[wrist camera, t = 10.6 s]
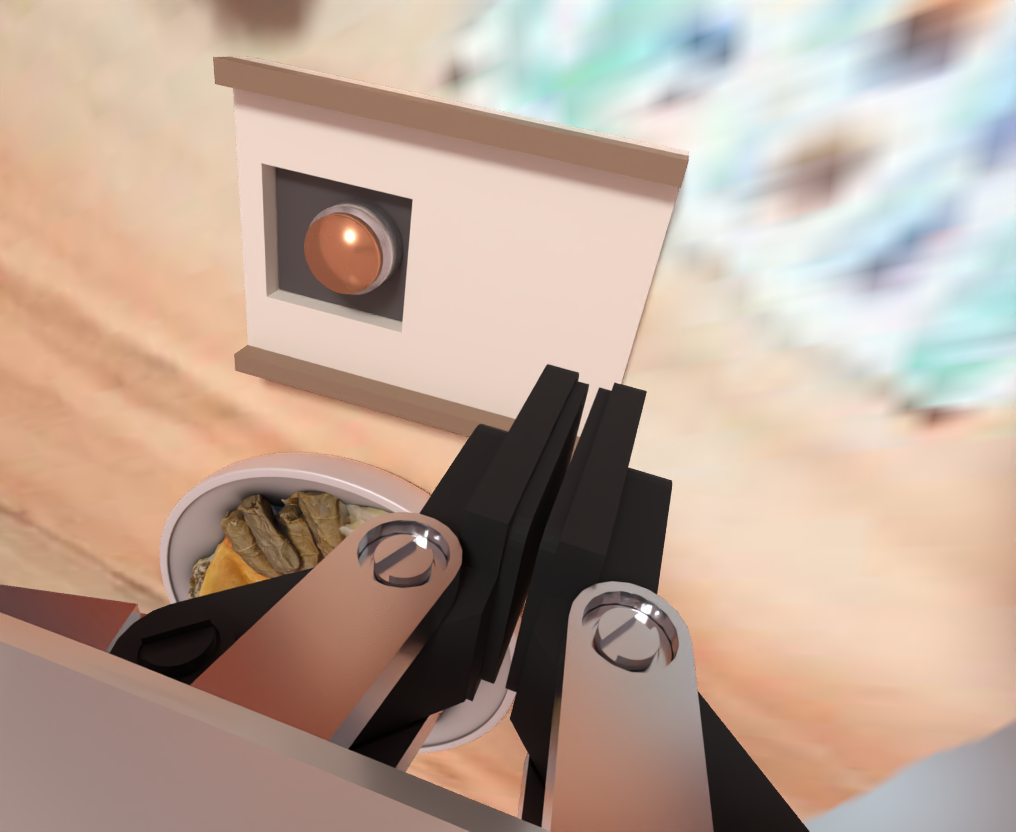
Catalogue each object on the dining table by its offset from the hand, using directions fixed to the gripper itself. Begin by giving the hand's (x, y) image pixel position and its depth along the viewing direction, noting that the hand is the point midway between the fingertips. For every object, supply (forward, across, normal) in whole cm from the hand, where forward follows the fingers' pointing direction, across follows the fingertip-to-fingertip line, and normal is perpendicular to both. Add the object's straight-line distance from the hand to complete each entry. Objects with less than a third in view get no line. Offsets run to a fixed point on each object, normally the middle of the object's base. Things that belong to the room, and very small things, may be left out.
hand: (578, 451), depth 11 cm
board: (+25, +12, +8) cm, 29 cm away
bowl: (+25, +16, +37) cm, 47 cm away
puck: (+25, +17, +7) cm, 31 cm away
